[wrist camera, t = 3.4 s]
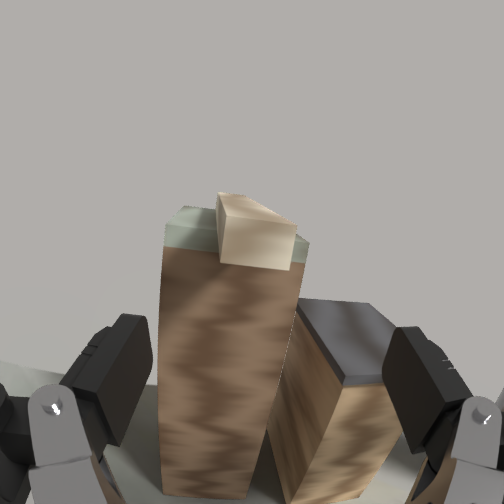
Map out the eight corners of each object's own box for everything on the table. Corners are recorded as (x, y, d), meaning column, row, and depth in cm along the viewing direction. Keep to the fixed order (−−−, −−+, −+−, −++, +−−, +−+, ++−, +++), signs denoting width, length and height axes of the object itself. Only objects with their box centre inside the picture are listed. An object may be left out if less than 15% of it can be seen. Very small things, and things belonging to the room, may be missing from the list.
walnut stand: (235, 427, 42) (272, 217, 35) (245, 498, 29) (309, 242, 22) (170, 422, 41) (184, 205, 34) (163, 494, 27) (165, 224, 20)
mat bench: (327, 423, 45) (368, 303, 40) (362, 499, 29) (442, 367, 24) (263, 425, 43) (293, 297, 38) (284, 512, 27) (345, 375, 22)
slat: (242, 213, 35) (244, 195, 34) (288, 270, 13) (297, 225, 13) (215, 209, 34) (218, 191, 34) (219, 262, 13) (226, 215, 13)
